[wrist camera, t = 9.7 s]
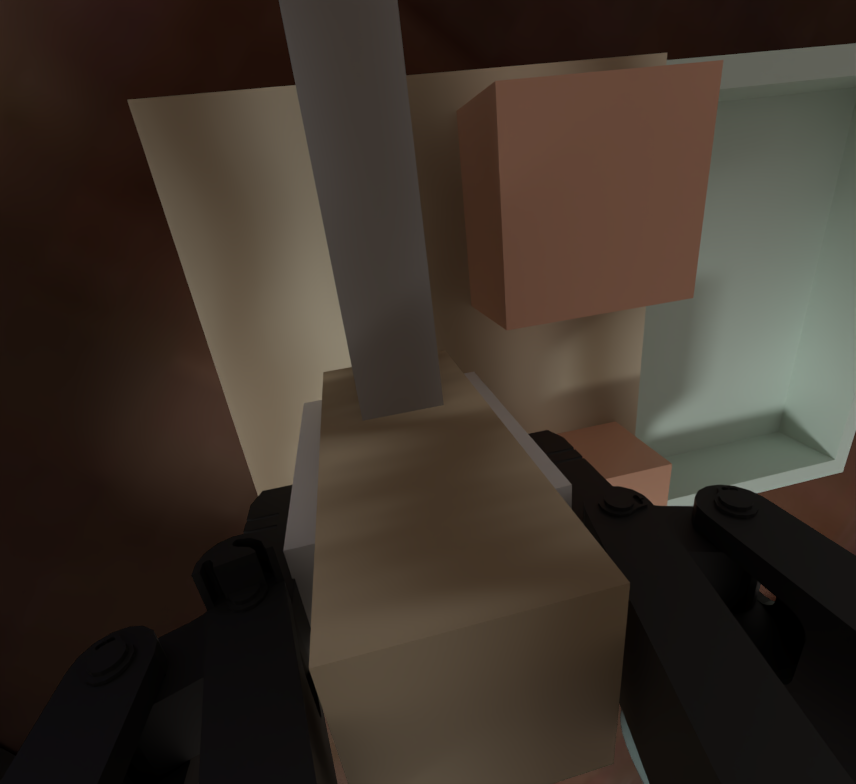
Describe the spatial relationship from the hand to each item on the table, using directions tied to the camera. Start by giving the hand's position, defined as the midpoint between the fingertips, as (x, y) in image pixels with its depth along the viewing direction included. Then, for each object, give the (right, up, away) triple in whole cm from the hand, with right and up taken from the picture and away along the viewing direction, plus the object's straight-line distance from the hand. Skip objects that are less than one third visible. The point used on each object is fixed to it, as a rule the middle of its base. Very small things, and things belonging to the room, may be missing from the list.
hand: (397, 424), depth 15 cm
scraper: (0, 0, +1) cm, 1 cm away
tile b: (+5, +7, +1) cm, 9 cm away
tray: (+16, +6, +9) cm, 19 cm away
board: (+1, +3, +7) cm, 8 cm away
